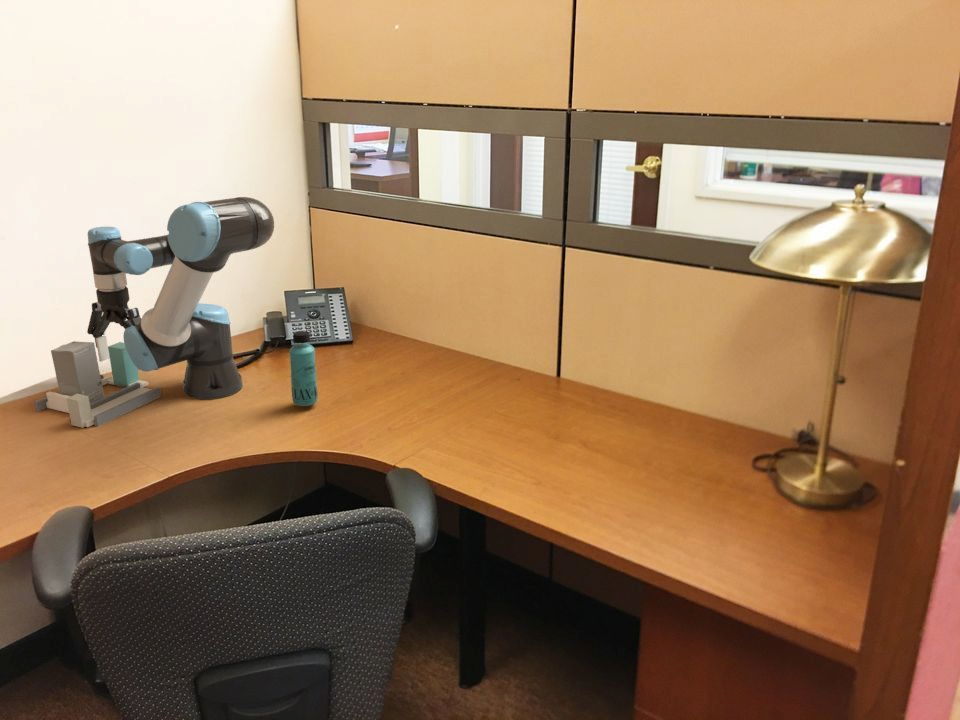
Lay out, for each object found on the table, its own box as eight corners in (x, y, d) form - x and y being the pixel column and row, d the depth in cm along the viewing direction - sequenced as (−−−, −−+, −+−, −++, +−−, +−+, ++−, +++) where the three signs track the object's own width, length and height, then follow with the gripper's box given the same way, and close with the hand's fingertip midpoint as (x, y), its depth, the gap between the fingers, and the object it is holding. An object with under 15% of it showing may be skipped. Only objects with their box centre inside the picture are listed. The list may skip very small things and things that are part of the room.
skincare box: (84, 412, 189) (73, 352, 183) (59, 409, 190) (48, 349, 184) (106, 398, 196) (97, 341, 191) (82, 396, 198) (72, 338, 192)
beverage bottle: (287, 408, 193) (281, 334, 186) (302, 399, 199) (297, 327, 191) (309, 413, 190) (304, 338, 183) (323, 403, 196) (319, 330, 189)
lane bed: (161, 396, 198) (160, 387, 198) (98, 426, 181) (96, 417, 180) (101, 383, 206) (100, 374, 205) (36, 410, 189) (34, 401, 188)
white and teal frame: (148, 384, 205) (142, 346, 201) (79, 415, 186) (71, 374, 182) (117, 377, 209) (111, 340, 205) (46, 407, 190) (38, 366, 186)
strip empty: (156, 394, 199) (152, 369, 196) (85, 428, 179) (80, 401, 177) (141, 391, 201) (137, 366, 198) (69, 424, 181) (64, 397, 179)
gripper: (159, 290, 194) (169, 367, 202) (88, 278, 203) (100, 352, 211) (137, 297, 188) (148, 376, 196) (64, 284, 197) (77, 360, 204)
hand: (123, 364), depth 203 cm, fingers open, 13 cm apart
